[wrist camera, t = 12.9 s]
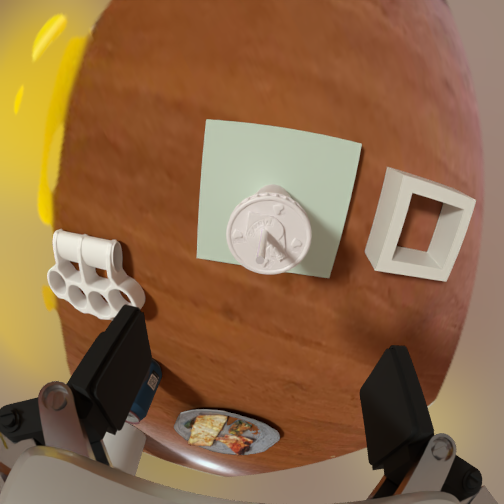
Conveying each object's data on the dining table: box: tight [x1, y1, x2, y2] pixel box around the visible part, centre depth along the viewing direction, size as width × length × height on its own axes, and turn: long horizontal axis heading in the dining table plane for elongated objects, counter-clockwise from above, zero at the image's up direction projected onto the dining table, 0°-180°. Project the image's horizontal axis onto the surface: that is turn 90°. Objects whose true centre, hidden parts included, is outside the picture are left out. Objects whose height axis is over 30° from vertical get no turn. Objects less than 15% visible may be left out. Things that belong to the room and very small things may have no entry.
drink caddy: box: [365, 167, 476, 281], centre depth 27 cm, size 10×10×4 cm
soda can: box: [125, 359, 162, 424], centre depth 40 cm, size 7×7×12 cm
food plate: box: [174, 409, 280, 456], centre depth 53 cm, size 25×23×4 cm
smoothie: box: [226, 184, 312, 274], centre depth 22 cm, size 6×6×14 cm
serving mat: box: [197, 119, 362, 278], centre depth 29 cm, size 16×16×1 cm
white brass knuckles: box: [47, 229, 145, 320], centre depth 36 cm, size 3×18×15 cm
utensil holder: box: [103, 422, 146, 476], centre depth 56 cm, size 15×15×18 cm
